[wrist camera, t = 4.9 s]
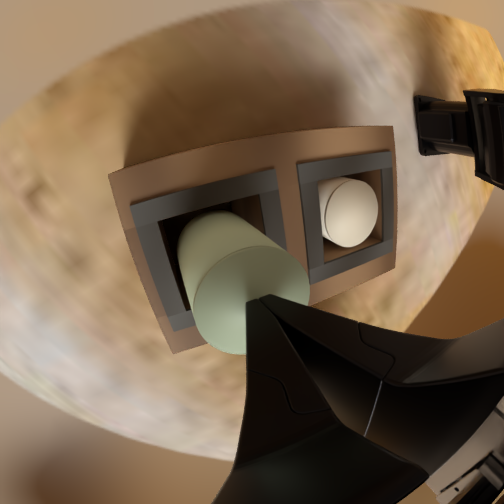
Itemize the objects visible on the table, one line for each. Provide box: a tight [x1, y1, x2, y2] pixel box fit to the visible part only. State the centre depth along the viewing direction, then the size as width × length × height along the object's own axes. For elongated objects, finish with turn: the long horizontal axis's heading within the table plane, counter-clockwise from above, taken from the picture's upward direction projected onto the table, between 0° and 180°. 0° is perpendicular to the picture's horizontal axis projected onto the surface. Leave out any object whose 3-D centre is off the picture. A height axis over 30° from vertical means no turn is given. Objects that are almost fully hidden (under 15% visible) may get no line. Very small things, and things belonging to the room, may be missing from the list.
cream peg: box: [317, 176, 378, 247], centre depth 18 cm, size 4×4×6 cm
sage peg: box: [177, 210, 310, 354], centre depth 11 cm, size 4×4×6 cm
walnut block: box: [108, 126, 397, 354], centre depth 17 cm, size 16×10×6 cm, turn 101°
